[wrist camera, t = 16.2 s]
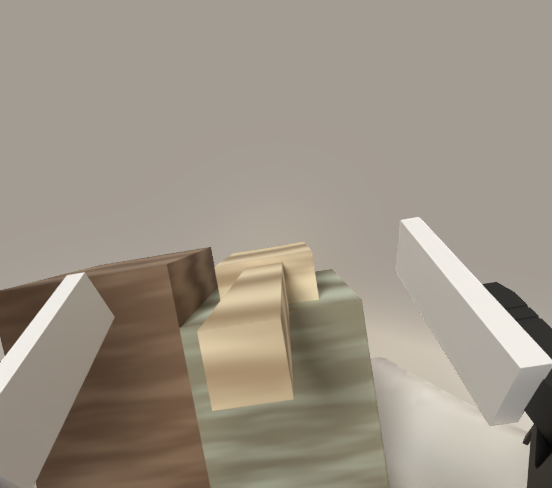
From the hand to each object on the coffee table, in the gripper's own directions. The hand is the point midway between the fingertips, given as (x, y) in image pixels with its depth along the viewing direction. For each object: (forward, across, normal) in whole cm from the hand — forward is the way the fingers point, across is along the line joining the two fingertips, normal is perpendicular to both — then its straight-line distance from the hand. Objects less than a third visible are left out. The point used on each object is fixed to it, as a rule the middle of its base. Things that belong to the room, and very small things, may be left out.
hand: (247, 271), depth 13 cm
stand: (0, -7, -34) cm, 34 cm away
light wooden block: (+6, 0, -9) cm, 11 cm away
